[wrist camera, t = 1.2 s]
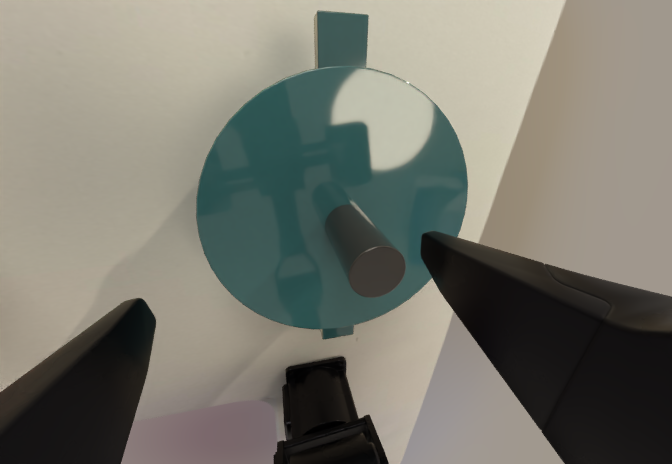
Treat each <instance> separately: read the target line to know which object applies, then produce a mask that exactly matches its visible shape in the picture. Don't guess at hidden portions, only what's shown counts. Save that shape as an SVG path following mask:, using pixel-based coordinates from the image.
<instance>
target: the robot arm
mask: <svg viewBox="0 0 672 464" xmlns="http://www.w3.org/2000/svg"><path fill="white" fill-rule="evenodd" d="M420 254H421V258H422V260H423V262H424V264H425V266H426V267H427V269H428V271H429V273H430V274H431V276H432V278H433V280H434V282H435V283H436V285H437V287H438V289H439V290H440V292H441V293H442V295H443V296H444V298H445V299H446V301H447V302H448V304H449V305H450V306H451V308H452V309H453V310H454V312H455V313H456V315H457V316H458V317H459V318H460V320H461V321H462V322H463V324H464V326H465V327H466V328H467V330H468V331H469V332H470V334H471V335H472V337H473V338H474V339H475V341H476V342H477V343H478V345H479V346H480V347H481V349H482V350H483V351H484V353H485V354H486V356H487V357H488V359H489V360H490V361H491V363H492V364H493V365H494V367H495V368H496V370H497V371H498V372H499V374H500V375H501V376H502V378H503V379H504V380H505V382H506V383H507V385H508V386H509V387H510V389H511V390H512V392H513V393H514V394H515V396H516V397H517V398H518V400H519V401H520V403H521V404H522V405H523V407H524V408H525V409H526V411H527V412H528V413H529V415H530V416H531V418H532V419H533V420H534V422H535V423H536V425H537V426H538V427H539V428H540V429H541V430H542V433H543V434H544V436H545V437H546V438H547V440H548V441H549V443H550V444H551V446H552V447H553V448H554V450H555V451H556V452H557V454H558V455H559V456H560V458H561V459H562V461H563V462H564V463H565V464H672V297H670V296H667V295H663V294H659V293H654V292H650V291H646V290H642V289H638V288H634V287H630V286H626V285H622V284H618V283H614V282H610V281H606V280H602V279H599V278H595V277H591V276H587V275H583V274H580V273H576V272H572V271H569V270H565V269H561V268H558V267H555V266H552V265H548V264H545V265H544V264H543V263H542V262H538V261H534V260H531V259H528V258H525V257H521V256H518V255H514V254H511V253H508V252H504V251H501V250H498V249H494V248H491V247H488V246H484V245H481V244H478V243H474V242H471V241H467V240H464V239H461V238H457V237H454V236H451V235H447V234H444V233H441V232H437V231H429V232H425V233H423V234H422V236H421V250H420ZM155 327H156V319H155V316H154V315H153V313H152V311H151V310H150V308H149V307H148V305H147V304H146V302H145V301H144V300H143V299H142V298H136V299H131V300H127V301H124V302H123V303H121V304H120V305H119V306H117V307H116V308H115V309H113V310H112V311H111V312H109V313H108V314H106V315H105V316H104V317H102V318H101V319H100V320H98V321H97V322H96V323H94V324H93V325H91V326H90V327H89V328H87V329H86V330H85V331H83V332H82V333H81V334H79V335H78V336H77V337H75V338H74V339H72V340H71V341H70V342H68V343H67V344H66V345H64V346H63V347H62V348H60V349H59V350H57V351H56V352H55V353H53V354H52V355H51V356H49V357H48V358H47V359H45V360H44V361H43V362H41V363H40V364H38V365H37V366H36V367H34V368H33V369H32V370H30V371H29V372H28V373H26V374H25V375H23V376H22V377H21V378H19V379H18V380H17V381H15V382H14V383H13V384H11V385H10V386H8V387H7V388H6V389H4V390H3V391H2V392H0V464H121V461H122V457H123V454H124V450H125V447H126V444H127V440H128V437H129V434H130V430H131V427H132V423H133V420H134V417H135V413H136V410H137V407H138V403H139V400H140V396H141V393H142V390H143V386H144V383H145V379H146V375H147V371H148V367H149V362H150V356H151V350H152V344H153V339H154V333H155ZM290 371H291V372H290ZM286 382H287V384H285V385H284V386H283V387H282V390H283V409H284V426H285V435H286V440H287V441H284V440H282V441H279V442H277V452H276V454H275V455H274V464H389V463H388V460H387V457H386V455H385V452H384V449H383V447H382V444H381V442H380V440H379V437H378V435H377V432H376V430H375V427H374V425H373V422H372V420H371V417H370V415H366V416H364V417H363V418H358V415H357V411H356V408H355V404H354V401H353V397H352V394H351V391H350V387H349V384H348V380H347V377H346V360H345V358H344V357H338V358H333V359H327V360H322V361H317V362H311V363H306V364H301V365H295V366H290V367H288V368H286Z"/></svg>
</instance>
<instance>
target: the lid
mask: <svg viewBox="0 0 672 464" xmlns="http://www.w3.org/2000/svg"><path fill="white" fill-rule="evenodd" d="M467 190H468V180H467V169H466V163H465V159H464V154H463V150H462V148H461V145H460V142H459V140H458V137H457V135H456V133H455V131H454V129H453V128H452V126H451V124H450V122H449V120H448V119H447V118H446V116H445V115H444V114H443V113H442V111H441V110H440V109H439V107H438V106H437V105H436V104H435V103H434V102H433V101H432V100H431V99H430V98H429V97H428V96H426V95H425V94H424V93H423V92H422V91H420V90H419V89H417V88H416V87H414V86H413V85H411V84H410V83H408V82H406V81H404V80H402V79H400V78H398V77H396V76H394V75H392V74H389V73H385V72H382V71H378V70H375V69H371V68H364V67H356V66H328V67H322V68H317V69H312V70H307V71H304V72H301V73H298V74H295V75H292V76H290V77H287V78H284V79H282V80H280V81H278V82H277V83H275V84H273V85H271V86H269V87H267V88H266V89H264V90H262V91H261V92H260V93H258V94H257V95H256V96H254V97H253V98H252V99H251V100H249V101H248V102H247V103H245V104H244V105H243V106H242V107H241V108H240V109H239V110H238V111H237V112H236V114H235V115H234V116H233V117H232V118H231V119H230V120H229V121H228V122H227V124H226V125H225V127H224V128H223V129H222V131H221V132H220V134H219V135H218V136H217V138H216V139H215V141H214V143H213V145H212V147H211V149H210V151H209V153H208V155H207V157H206V160H205V163H204V166H203V169H202V172H201V176H200V179H199V185H198V191H197V198H196V219H197V226H198V233H199V238H200V241H201V244H202V247H203V251H204V254H205V256H206V258H207V260H208V262H209V264H210V266H211V268H212V270H213V271H214V273H215V274H216V276H217V277H218V279H219V280H220V282H221V283H222V284H223V285H224V287H225V288H226V289H227V290H228V291H229V292H230V293H231V294H232V295H233V296H234V297H235V298H236V299H238V300H239V301H240V302H241V303H242V304H243V305H245V306H246V307H248V308H250V309H251V310H253V311H254V312H256V313H257V314H259V315H262V316H264V317H266V318H268V319H270V320H273V321H276V322H279V323H282V324H285V325H289V326H294V327H299V328H308V329H333V328H342V327H347V326H352V325H356V324H360V323H363V322H366V321H369V320H372V319H374V318H376V317H379V316H381V315H383V314H385V313H387V312H389V311H391V310H393V309H395V308H396V307H398V306H399V305H401V304H402V303H404V302H405V301H407V300H408V299H410V298H411V297H412V296H413V295H414V294H416V293H417V292H418V291H419V290H420V289H421V288H422V287H423V286H424V285H425V284H426V283H427V282H428V281H429V280H430V279H431V278H432V276H431V274H430V273H429V271H428V269H427V267H426V266H425V264H424V262H423V260H422V258H421V254H420V250H421V236H422V234H423V233H425V232H429V231H437V232H441V233H444V234H447V235H451V236H454V237H457V236H458V234H459V232H460V229H461V225H462V222H463V218H464V215H465V209H466V203H467Z"/></svg>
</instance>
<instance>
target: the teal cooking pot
mask: <svg viewBox="0 0 672 464" xmlns="http://www.w3.org/2000/svg"><path fill="white" fill-rule="evenodd" d="M368 17H369V16H368V15H367V14H355V13H343V12H331V11H319V10H318V11H317V13H316V14H315V16H314V43H315V69H317V68H322V67H328V66H356V67H364V68H366V59H367V38H368ZM353 328H354V325H352V326H347V327H342V328H333V329H320V330H321V335H322V339H329V338H335V337H341V336H346V335H352V334H353Z"/></svg>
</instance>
